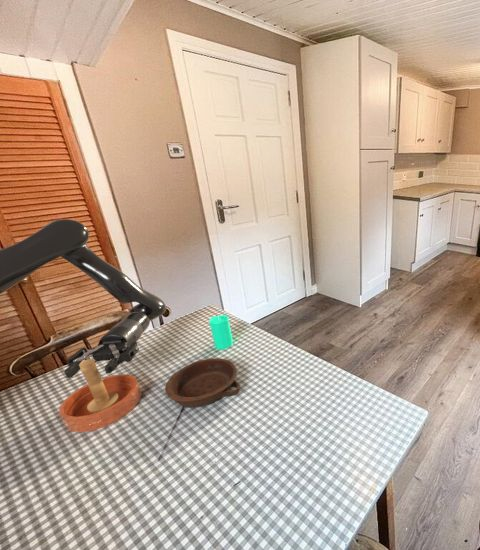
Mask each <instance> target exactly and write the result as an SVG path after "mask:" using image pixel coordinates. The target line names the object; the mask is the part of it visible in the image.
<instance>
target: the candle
mask: <svg viewBox="0 0 480 550" xmlns="http://www.w3.org/2000/svg"><path fill="white" fill-rule="evenodd" d="M208 322H209V327H210V331H211V336H212V339H213V344H214V347H215V349H216V350H226V349H228V348H230V347H232V346H233V344H234V339H233V334H232V330H231V324H230V319H229V316H228V315H227V314H221V315H214V316H212V317H210V318H209V320H208Z"/></svg>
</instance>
